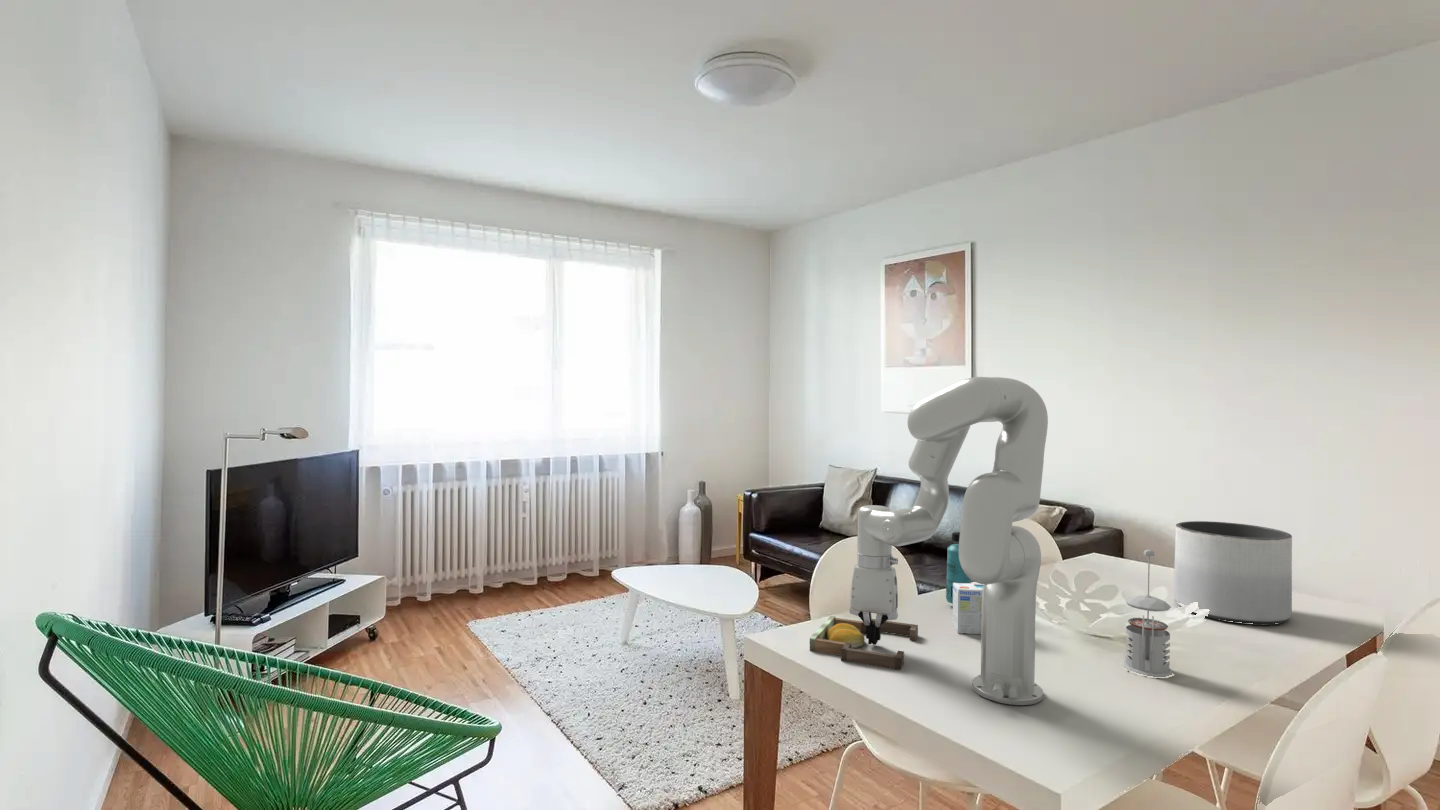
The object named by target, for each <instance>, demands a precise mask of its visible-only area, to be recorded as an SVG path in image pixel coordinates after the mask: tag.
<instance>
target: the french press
mask: <svg viewBox="0 0 1440 810" xmlns="http://www.w3.org/2000/svg"><path fill="white" fill-rule="evenodd" d="M1143 555H1144V556H1147V558H1148V560H1147V561H1148V564H1147V570H1148V571H1147V594H1146V595H1145V594H1144V595H1142V594H1139V595H1134V596H1132V597H1129V598H1127V599H1126V600H1125V603H1126V604H1127V606H1129V607H1131V608H1134V609H1138V610H1141V611H1142V610H1143V611H1147V616H1146V617H1147V618H1145V615H1144V614H1143V615H1142V617H1130V618H1129V619H1128V620H1127V622H1128V623H1129V625H1126V626H1125V634H1126V636H1125V640H1126V642H1125V646H1126V647H1125V649H1124V651H1125V652H1126V653H1127V654H1126V653H1125V655H1124V656H1125V659H1124V660H1123V661H1122V662H1120V664H1121V665H1122V666H1123V667H1124V668H1126V669H1127V670H1130V671H1133V672H1136V673H1139V674H1143V675H1147V676H1153V677H1166V676H1169V675H1172V673H1173V672H1174V671H1173V670H1172V669H1171V668H1170V661H1168V660H1169V659H1171V658H1170V655H1168V654H1169V653H1170V652H1171V650H1170V649H1167V648H1169V647H1171V643H1170V642H1169V641H1170V640H1171V633H1170V632H1169V631H1168V630H1167V629H1168V627H1169V626H1168V625H1167V624H1166V623H1165V622H1163V621H1160V620H1158V619H1157V620H1156V619H1155V618H1154V617H1155V616H1151V617H1152V618H1149V615H1150V614H1149V612H1166V611H1169V610H1170V609H1171V608H1172V606H1171V605H1170V604H1169V603H1167V601H1165V600H1163V599H1160V598H1159V597H1156V596H1151V595H1150V565H1151V564H1150V563H1151V560H1150V559H1151V558H1150V557H1154V556H1155V552H1154V551H1153V550H1152V549H1145V550H1144V551H1143ZM1128 636H1129V637H1128ZM1127 642H1128V643H1127ZM1167 642H1169V643H1167ZM1172 671H1173V672H1172Z"/></svg>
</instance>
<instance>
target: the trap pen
mask: <svg viewBox="0 0 1440 810" xmlns="http://www.w3.org/2000/svg"><path fill="white" fill-rule="evenodd" d="M875 620H876V618H872V621H873V623H875ZM839 623H847V624H850V625H853V626H855V627H856V628H857V629H858V630H859V631H860V632H861V634H862V633H864V634H863V635H866V625H865V624H864V622H863V621H862V620H855V619H849V618H840V617H839V618H838V617H836V616H834V615H830V616H829V617H828V618H827V619H826V620H825V621H824V622H823V623H822V624H821V625H820V626H819V628H818V629H817V630H816V631H814V633H812V635H811V636H810V637H809V651H813V652H817V653H824V654H830V655H837V656H840V661H843V662H847V663H853V664H854V663H855V664H860V665H865V666H866V665H867V666H871V665H872V667H873V666H874V667H878V668H879V667H880V668H884V669H890V670H897V671H901V670H902V669H903V666H904V664H905V651H904V650H898V651H897V652H896V654H890V653H883V652H877V651H870V650H865V649H864V650H863V649H858V648H854V649H852V648H851V643H845V642H838V641H832V640H828V638H827V632H828V630H829V629H830V628H831V627H833V626H834V625H836V624H839ZM884 632H887V633H886V634H891V633H895V634H894V635H898V634H902V635H901V636H905V635H908V636H907V637H909V641H910V640H912V642H916V640H917V638H918V636H919V625H918V624H913V623H906V622H905V623H904V622H899V621H898V622H897V621H893V620H887V621H886V622H884V623H883V624H882V625H881V633H884Z"/></svg>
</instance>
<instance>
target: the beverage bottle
mask: <svg viewBox="0 0 1440 810" xmlns="http://www.w3.org/2000/svg"><path fill="white" fill-rule="evenodd" d="M959 538H960V531H954V532H952V533H951V541H952V542H957V543H953V544H950V545H949V546H947V550H946V551H947V556H946V557H947V558H946V559H947V560H946V566H945V569H946V586H945V599H946V602H948V603H950V604H952V605H953V583H973V582H972V581H973V580H971V579H970V578H969V577H968V576H967V575H966V574H965V572H964V571H963V569H962V567H961V564H960V560H959Z"/></svg>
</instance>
